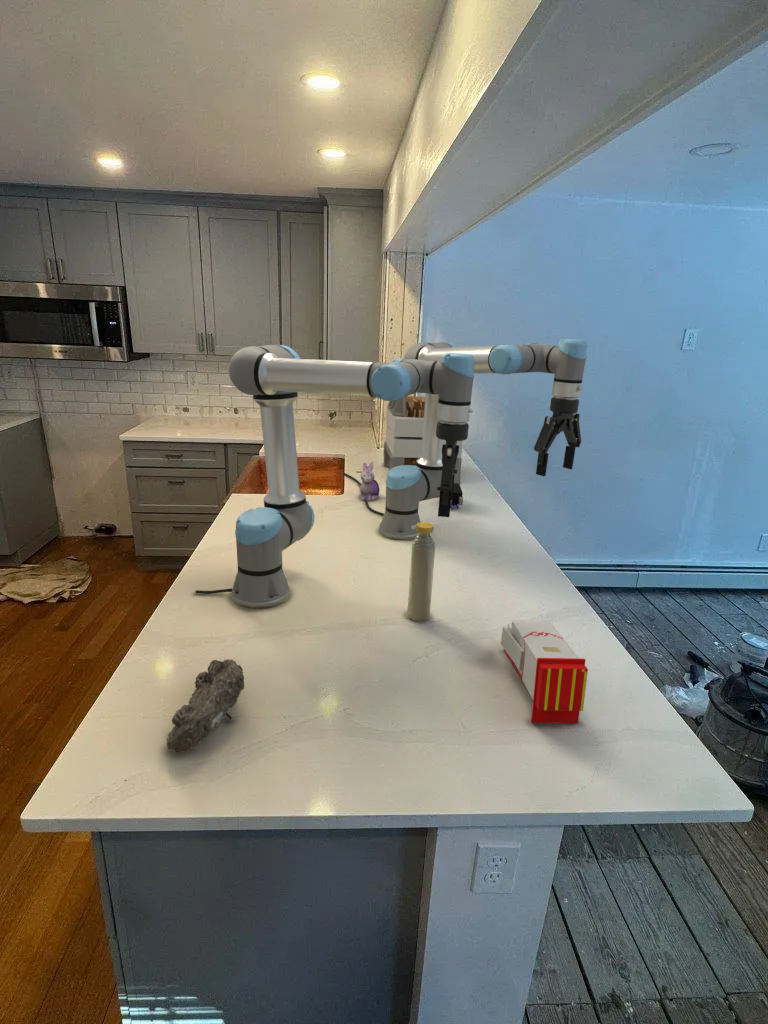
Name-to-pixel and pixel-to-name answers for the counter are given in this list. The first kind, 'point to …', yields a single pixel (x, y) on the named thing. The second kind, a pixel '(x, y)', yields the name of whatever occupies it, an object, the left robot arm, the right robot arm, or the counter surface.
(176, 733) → the fossil
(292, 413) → the left robot arm
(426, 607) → the bottle
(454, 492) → the figurine character
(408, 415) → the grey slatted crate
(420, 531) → the cap
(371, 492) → the figurine
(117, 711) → the counter surface
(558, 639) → the toy
